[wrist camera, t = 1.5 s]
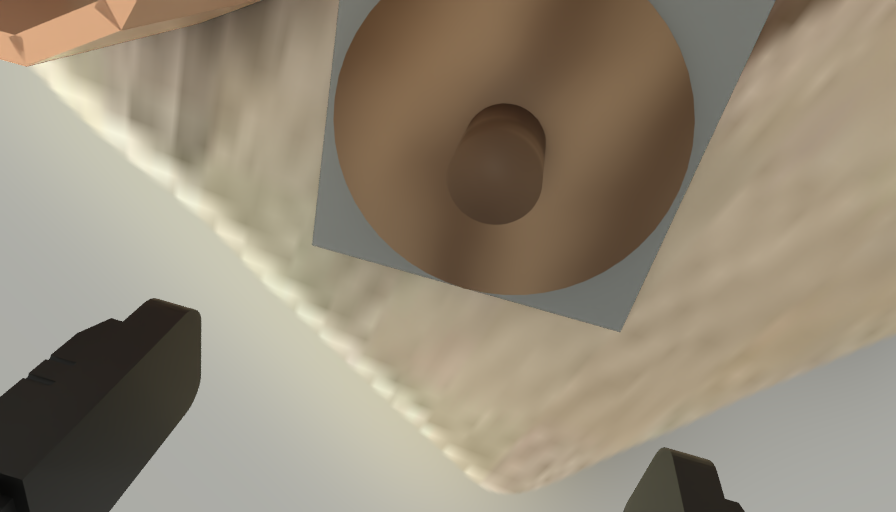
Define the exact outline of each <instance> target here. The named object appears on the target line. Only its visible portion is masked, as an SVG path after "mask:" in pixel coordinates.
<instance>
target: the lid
mask: <svg viewBox="0 0 896 512" xmlns="http://www.w3.org/2000/svg"><path fill="white" fill-rule="evenodd" d="M333 122H334V135H335V145H336V149H337V154H338V159H339V164H340V167H341V170H342V173H343V176H344V179H345V182H346V184H347V186H348V189H349V191H350V193H351V195H352V197H353V199H354V201H355V203H356V205H357V206H358V208H359V209H360V211H361V212H362V214H363V216H364V217H365V219H366V220H367V222H368V223H369V224H370V225H371V226H372V228H373V229H374V230H375V231H376V233H377V234H378V235H379V236H380V237H381V238H382V239H383V240H384V241H385V242H386V243H387V244H388V245H389V246H390V247H391V248H392V249H393V250H394V251H395V252H397V253H398V254H399V255H401V256H402V257H403V258H404V259H406V260H407V261H408V262H410V263H411V264H413V265H414V266H416V267H418V268H419V269H421V270H423V271H424V272H426V273H428V274H430V275H432V276H434V277H436V278H438V279H440V280H442V281H445V282H447V283H450V284H453V285H456V286H459V287H462V288H465V289H470V290H474V291H478V292H483V293H491V294H500V295H529V294H538V293H546V292H550V291H555V290H559V289H563V288H567V287H570V286H573V285H576V284H578V283H581V282H584V281H587V280H589V279H591V278H593V277H595V276H597V275H599V274H601V273H603V272H605V271H606V270H608V269H610V268H611V267H613V266H614V265H616V264H617V263H619V262H620V261H622V260H623V259H625V258H626V257H627V256H628V255H629V254H631V253H632V252H633V251H634V250H635V249H637V248H638V247H639V246H640V245H641V244H642V243H643V242H644V241H645V240H646V239H647V238H648V236H649V235H650V234H651V233H652V232H653V231H654V230H655V229H656V227H657V226H658V225H659V223H660V222H661V221H662V219H663V218H664V216H665V215H666V214H667V212H668V211H669V209H670V207H671V205H672V203H673V201H674V200H675V198H676V196H677V194H678V192H679V190H680V187H681V185H682V182H683V180H684V177H685V174H686V172H687V169H688V164H689V160H690V156H691V152H692V147H693V138H694V126H695V115H694V97H693V92H692V87H691V82H690V77H689V72H688V69H687V67H686V64H685V61H684V58H683V56H682V53H681V50H680V48H679V46H678V44H677V42H676V40H675V38H674V36H673V35H672V33H671V31H670V29H669V27H668V25H667V24H666V23H665V21H664V20H663V19H662V17H661V16H660V15H659V13H658V12H657V11H656V9H655V8H654V7H653V5H652V4H651V3H650V2H649V1H648V0H380V1H379V2H378V3H377V5H376V6H375V7H374V8H373V9H372V10H371V11H370V12H369V14H368V15H367V17H366V18H365V20H364V21H363V23H362V24H361V26H360V27H359V29H358V30H357V32H356V34H355V36H354V38H353V40H352V42H351V44H350V46H349V48H348V50H347V52H346V55H345V58H344V61H343V64H342V67H341V70H340V73H339V77H338V82H337V88H336V93H335V99H334V118H333Z"/></svg>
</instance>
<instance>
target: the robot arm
mask: <svg viewBox="0 0 896 512" xmlns="http://www.w3.org/2000/svg"><path fill="white" fill-rule="evenodd" d="M200 379H201V316H200V313H199V312H198V311H197V310H194V309H191V308H187V307H184V306H181V305H177V304H173V303H170V302H167V301H163V300H160V299H156V298H153V299H150V300H148V301H146V302H145V303H144V304H142V305H141V306H140V307H139V308H138V309H137V310H136V311H135V312H133V313H132V314H131V315H130V316H129V317H128V318H127V319H125V320H124V321H123V322H122V321H118V320H115V319H112V318H111V319H108V320H106V321H104V322H102V323H99V324H97V325H95V326H93V327H90V328H88V329H86V330H84V331H81V332H79V333H77V334H76V335H75V336H74V337H72V338H71V339H70V340H68V341H67V342H66V343H65V344H64V345H62V346H61V347H60V348H59V349H58V350H56V351H55V352H54V353H53V354H52V355H51V357H50V359H49V360H44V361H43V362H42V363H41V364H40V365H38V366H37V367H36V368H35V369H33V370H32V371H31V372H30V373H29V376H28V377H27V378H26V379H24V378H23V379H21V380H20V381H19V382H18V383H16V385H14V386H13V387H12V388H11V389H9V390H8V391H7V392H6V393H4V394H3V395H2V396H1V397H0V512H109V511H110V510H111V509H112V507H113V506H114V505H115V504H116V502H117V501H118V500H119V498H120V497H121V496H122V495H123V493H124V492H125V491H126V489H127V488H128V487H129V486H130V484H131V483H132V481H134V479H135V478H136V477H137V475H138V474H139V473H140V472H141V470H142V469H143V468H144V466H145V465H146V464H147V463H148V461H149V460H150V459H151V457H152V456H153V455H154V454H155V452H156V451H157V450H158V448H159V447H160V446H161V445H162V443H163V442H164V441H165V439H166V438H167V437H168V436H169V434H170V433H171V432H172V431H173V429H174V428H175V427H176V425H177V424H178V423H179V421H180V420H181V419H182V417H183V416H184V415H185V414H186V412H187V411H188V410H189V408H190V406H191V405H192V403H193V401H194V399H195V396H196V394H197V391H198V388H199V384H200ZM624 512H744V510H743V509H742V507H741V506H740V504H739V503H737V502H734V501H730V500H727V499H725V498H724V494H723V491H722V487H721V484H720V481H719V477H718V474H717V471H716V468H715V466H714V464H713V463H712V462H711V461H710V460H707V459H704V458H700V457H696V456H693V455H690V454H687V453H683V452H679V451H676V450H672V449H669V448H665V447H664V448H661V449H660V450H659V451H658V452H657V454H656V455H655V457H654V458H653V460H652V462H651V463H650V465H649V467H648V468H647V470H646V472H645V473H644V475H643V477H642V479H641V480H640V482H639V483H638V485H637V487H636V488H635V490H634V492H633V494H632V495H631V497H630V499H629V500H628V502H627V504H626V506H625V509H624Z"/></svg>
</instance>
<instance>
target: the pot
mask: <svg viewBox="0 0 896 512" xmlns="http://www.w3.org/2000/svg"><path fill="white" fill-rule="evenodd" d="M259 1H262V0H0V59H1V60H5V61H9V62H12V63H16V64H19V65H23V66H26V67H27V66H31V65H35V64H39V63H43V62H47V61H51V60H55V59H59V58H63V57H67V56H71V55H75V54H79V53H83V52H87V51H91V50H95V49H99V48H103V47H107V46H111V45H115V44H119V43H123V42H127V41H131V40H135V39H139V38H143V37H147V36H151V35H155V34H159V33H163V32H167V31H171V30H175V29H179V28H183V27H187V26H191V25H195V24H199V23H202V22H205V21H208V20H210V19H213V18H216V17H218V16H221V15H224V14H227V13H229V12H232V11H235V10H237V9H240V8H243V7H246V6H248V5H251V4H254V3H256V2H259Z"/></svg>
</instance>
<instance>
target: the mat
mask: <svg viewBox="0 0 896 512" xmlns="http://www.w3.org/2000/svg"><path fill="white" fill-rule="evenodd" d="M379 1H380V0H339V9H338V18H337V27H336V36H335V45H334V54H333V63H332V72H331V81H330V90H329V99H328V108H327V117H326V126H325V135H324V144H323V153H322V162H321V171H320V180H319V189H318V198H317V207H316V216H315V225H314V234H313V243H312V245H313V246H317V247H320V248H324V249H328V250H331V251H335V252H338V253H342V254H345V255H349V256H352V257H356V258H359V259H363V260H367V261H370V262H374V263H377V264H381V265H384V266H388V267H391V268H395V269H398V270H402V271H405V272H409V273H413V274H416V275H420V276H423V277H427V278H430V279H434V280H437V281H441V282H444V283H447V282H445V281H442V280H440V279H438V278H436V277H434V276H432V275H430V274H428V273H426V272H424V271H423V270H421V269H419V268H418V267H416V266H414V265H413V264H411V263H410V262H408V261H407V260H406V259H404V258H403V257H402V256H401V255H399V254H398V253H397V252H395V251H394V250H393V249H392V248H391V247H390V246H389V245H388V244H387V243H386V242H385V241H384V240H383V239H382V238H381V237H380V236H379V235H378V234H377V233H376V231H375V230H374V229H373V228H372V226H371V225H370V224H369V223H368V222H367V220H366V219H365V217H364V216H363V214H362V212H361V211H360V209H359V208H358V206H357V205H356V203H355V201H354V199H353V197H352V195H351V193H350V191H349V189H348V186H347V184H346V182H345V179H344V176H343V173H342V170H341V167H340V164H339V159H338V154H337V149H336V145H335V135H334V122H333V118H334V99H335V93H336V88H337V82H338V77H339V73H340V70H341V67H342V64H343V61H344V58H345V55H346V52H347V50H348V48H349V46H350V44H351V42H352V40H353V38H354V36H355V34H356V32H357V30H358V29H359V27H360V26H361V24H362V23H363V21H364V20H365V18H366V17H367V15H368V14H369V12H370V11H371V10H372V9H373V8H374V7H375V6H376V5H377V3H378V2H379ZM648 1H649V2H650V3H651V4H652V5H653V7H654V8H655V9H656V11H657V12H658V13H659V15H660V16H661V17H662V19H663V20H664V21H665V23H666V24H667V25H668V27H669V29H670V31H671V33H672V35H673V36H674V38H675V40H676V42H677V44H678V46H679V48H680V50H681V53H682V56H683V58H684V61H685V64H686V67H687V69H688V72H689V77H690V82H691V87H692V92H693V97H694V115H695V126H694V138H693V147H692V152H691V156H690V160H689V164H688V169H687V172H686V174H685V177H684V180H683V182H682V185H681V187H680V190H679V192H678V194H677V196H676V198H675V200H674V201H673V203H672V205H671V207H670V209H669V211H668V212H667V214H666V215H665V216H664V218H663V219H662V221H661V222H660V223H659V225H658V226H657V227H656V229H655V230H654V231H653V232H652V233H651V234H650V235H649V236H648V238H647V239H646V240H645V241H644V242H643V243H642V244H641V245H640V246H639V247H638V248H637V249H635V250H634V251H633V252H632V253H631V254H629V255H628V256H627V257H626V258H625V259H623V260H622V261H620V262H619V263H617V264H616V265H614V266H613V267H611V268H610V269H608V270H606V271H605V272H603V273H601V274H599V275H597V276H595V277H593V278H591V279H589V280H587V281H584V282H581V283H578V284H576V285H573V286H570V287H567V288H563V289H559V290H555V291H550V292H546V293H538V294H529V295H500V294H491V293H483V292H480V293H483V294H487V295H490V296H494V297H497V298H501V299H505V300H508V301H512V302H515V303H519V304H522V305H526V306H529V307H533V308H536V309H540V310H544V311H547V312H551V313H554V314H558V315H561V316H565V317H568V318H572V319H575V320H579V321H582V322H586V323H590V324H593V325H597V326H600V327H604V328H607V329H611V330H614V331H618V332H621V329H622V327H623V325H624V323H625V321H626V319H627V317H628V314H629V312H630V310H631V308H632V306H633V304H634V302H635V300H636V297H637V295H638V293H639V291H640V289H641V287H642V285H643V282H644V280H645V278H646V276H647V274H648V272H649V270H650V267H651V265H652V263H653V261H654V259H655V257H656V255H657V252H658V250H659V248H660V246H661V244H662V242H663V240H664V238H665V235H666V233H667V231H668V229H669V227H670V225H671V223H672V220H673V218H674V216H675V214H676V212H677V210H678V208H679V205H680V203H681V201H682V199H683V197H684V195H685V193H686V191H687V188H688V186H689V184H690V182H691V180H692V178H693V176H694V173H695V171H696V169H697V167H698V165H699V163H700V161H701V158H702V156H703V154H704V152H705V150H706V148H707V146H708V143H709V141H710V139H711V137H712V135H713V133H714V131H715V129H716V126H717V124H718V122H719V120H720V118H721V116H722V114H723V111H724V109H725V107H726V105H727V103H728V101H729V99H730V96H731V94H732V92H733V90H734V88H735V86H736V84H737V82H738V79H739V77H740V75H741V73H742V71H743V69H744V67H745V64H746V62H747V60H748V58H749V56H750V54H751V52H752V49H753V47H754V45H755V43H756V41H757V39H758V37H759V34H760V32H761V30H762V28H763V26H764V24H765V22H766V20H767V17H768V15H769V13H770V11H771V9H772V7H773V5H774V2H775V0H648ZM448 284H450V283H448ZM451 285H453V284H451ZM455 286H456V285H455ZM469 290H470V289H469ZM473 291H474V290H473ZM476 292H478V291H476Z"/></svg>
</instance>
